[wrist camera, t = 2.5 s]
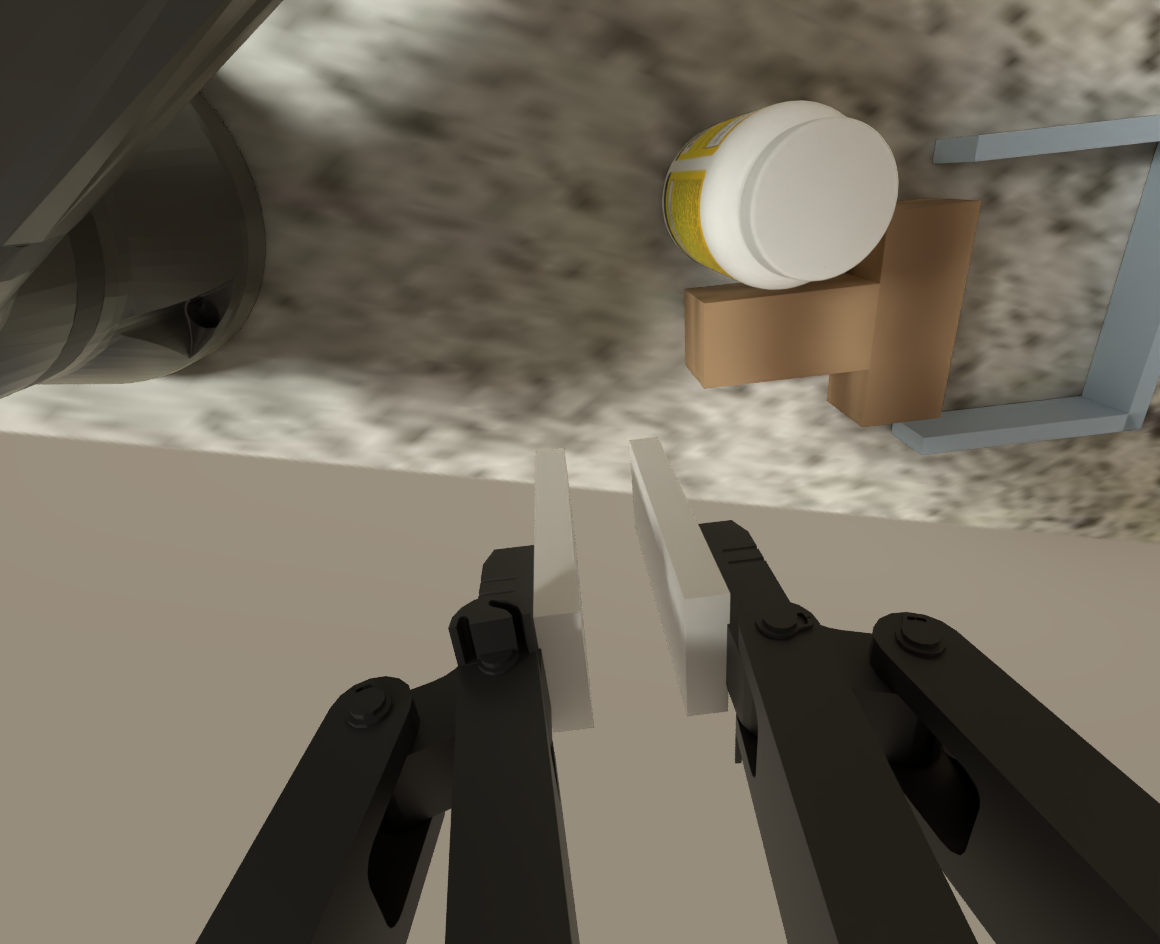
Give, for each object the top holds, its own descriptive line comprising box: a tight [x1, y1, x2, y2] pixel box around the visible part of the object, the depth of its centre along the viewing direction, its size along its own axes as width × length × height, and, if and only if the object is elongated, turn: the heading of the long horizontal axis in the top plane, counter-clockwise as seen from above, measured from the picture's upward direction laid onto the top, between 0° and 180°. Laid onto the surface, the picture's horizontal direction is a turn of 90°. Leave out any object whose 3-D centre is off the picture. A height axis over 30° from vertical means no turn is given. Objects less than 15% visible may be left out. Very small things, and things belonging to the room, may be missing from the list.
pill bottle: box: [662, 100, 898, 290], centre depth 23 cm, size 6×6×11 cm
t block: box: [684, 198, 981, 427], centre depth 29 cm, size 12×10×4 cm
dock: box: [891, 115, 1160, 455], centre depth 29 cm, size 12×15×3 cm
